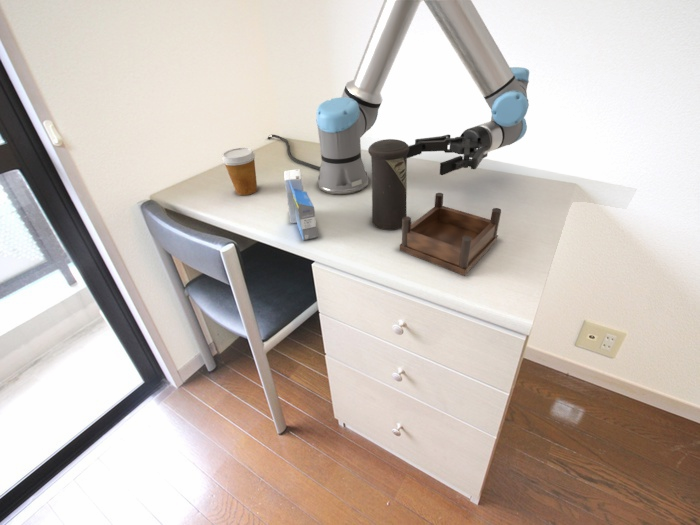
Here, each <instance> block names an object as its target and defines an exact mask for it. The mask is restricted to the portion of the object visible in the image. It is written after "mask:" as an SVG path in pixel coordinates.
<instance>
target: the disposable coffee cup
mask: <svg viewBox="0 0 700 525" xmlns="http://www.w3.org/2000/svg"><path fill="white" fill-rule="evenodd" d="M221 156H222V158H221V162H222V163H223V164H224V166H225V168H226V170H227V173H228V176H229V177H230V180H231V183H232V186H233V187H234V190H235V192H236V194H237V195H239V196H249V195H252V194H254V193H256V192H257V191H258V183H257V172H256V160H255V158H256V153H255V152H254V150H253V149H252V148H250V147H235V148H232V149H228V150H226V151H224V152H223V153H222V155H221Z"/></svg>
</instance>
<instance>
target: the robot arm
mask: <svg viewBox="0 0 700 525" xmlns="http://www.w3.org/2000/svg"><path fill="white" fill-rule="evenodd" d="M423 1H424V3H425V5H426V7H427V8H428V10H429V11H430V14H431V15H432V17H433V18H434V19H435V21H436V23H437V24H438V26H439V27H440V29H441V31H442V32H443V34H444V35H445V37H446V39H447V40H448V42H449V43H450V45H451V47H452V49H453V50H454V52H455V53H456V55H457V56H458V58H459V60H460V62H461V63H462V64H463V66H464V68H465V70H466V71H467V72H468V74H469V76H470V77H471V79H472V81H473V82H474V84H475V86H476V87H477V89H478V91H479V92H480V93H481V95H482V97H483V99H484V100H485V102H486V103H487V105H488V108H489V109H490V110H491V111H490V112H491V116H490V117H491V118H490V121H487V122H484V123H481V124H478V125H475V126H472V127H469V128H466V129H464V130H463V132H462V133H461V134H460V135H459V136H455V137H451V134H445V135H441V136H440V135H439V136H432V137H430V136H429V137H423V138H416V139H414V143H413V144H411V145H408V146H409V152H408V154H407V159H410V158H412V157H415V156H418V155H419V156H420V155H422V152H426V153H427V152H444V153H445V154H449V153H451V154H452V153H454V154H457V155H459V156H456V157H453V158H450V159H448V160H444V161H442V162H440V164H439V175H440V176H443V175H447V174H450V173H451V172H454V171H458V170H461V169H468V168H470V170H476V169H477V168H478V167H479V165H480V164H481V162H482V161H483V160H484V159H486V158H487V157H488V153H489V152H490V153H491V152H492V151H495V150H499V149H501V148H503V147H506V146H510V145H512V144H515V143H516V142H518V141H520V140H521V139H522V138H523V137H524V136H525V134H526V132H527V129H528V125H527V120H526V118H525V117H526V115H527V113H528V109H529V106H530V104H529V98H528V94H527V93H528V92H527V90H528V85H529V83H530V82H529V78H530V70H529V68H528V69H527V68H526V67H519V66H518V67H517V66H513V67H512V66H510V65H509V63H508V62H507V60H506V59H505V57H504V54H503V53H502V51H501V50H500V48H499V46H498V44H497V43H496V41H495V39H494V37H493V36H492V34H491V32H490V31H489V29H488V28H487V27H488V26H487V25H486V23H485V22H484V20H483V18H482V17H481V15H480V13H479V11H478V9H477V8H476V5H475V4H474V2H473V1H472V0H383V2H382V5H381V7H380V10H379V12H378V15H377V18H376V20H375V23H374V26H373V28H372V30H371V33H370V36H369V39H368V40H367V44H366V46H365V49H364V51H363V54H362V57H361V59H360V62H359V64H358V67H357V70H356V72H355V75H354V77H353V79H352V80H349V81H347V82H346V84H345V87H344V89H343V92H342V94H341V97H340V96H339V97H334V98H331V99H328V100H327V99H326V100H325V101H323V102H321V103H320V104H319V105H318V106H317V109H316V126H317V132H318V141H319V148H320V155H321V156H320V157H321V158H320V159H321V163H320V166H318V165H316V164H312V163H309V162H306V161H303V160H300V159H297V158H296V157H294V156H293V154H292V152H291V147H290V146H291V145H290V142H289V141H288V139H286V138H285V137H282V136H280V135H277V134H271V135H272V137H269V136H267V140H270V139H271V138H276V139H279V140H281V141H283V142H285V145H286V151H287V152H286V153H287V155H288V157H289V158H290V159H291V160H292V161H294V162H296V163H297V164H301V165H304V166H306V167H309V168H311V169H314V170H319V175H318V177H317V184H318V188H319V190H321V191H322V192H324V193H327V194H331V195H349V194H354V193H357V192H360V191H362V190H364V189H365V188H366V187H368V185H369V174H368V172H367V171H366V169H365V165H364V162H363V159H362V147H361V146H362V145H361V138H362V137H363V136H364V135H365V134H366V133H367V132H368V131H369V130H370V129H372V127H373V126H374V125H375V123H376V121H377V118H378V115H379V109H380V107H381V104H382V102H383V97H382V94H381V92H382V90H383V88H384V85H385V84H386V81H387V79H388V77H389V75H390V72H391V70H392V67H393V65H394V63H395V61H396V58H397V57H398V54H399V52H400V49H401V48H402V45H403V43H404V40H405V38H406V36H407V34H408V32H409V29H410V27H411V25H412V22H413V20H414V18H415V15H416V14H417V11H418V9H419V6H420V4H421V2H423ZM448 147H449V148H448ZM462 155H463V156H462Z"/></svg>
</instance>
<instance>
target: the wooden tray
mask: <svg viewBox="0 0 700 525" xmlns="http://www.w3.org/2000/svg"><path fill="white" fill-rule="evenodd" d="M443 204H444V193H442V192H436V193H435V195H434V206H433V207H431V209H429V210H428V211H427V212H425V213H424V214H423V215H421V216H420V217H419V218H417V219H416V220H415V221H413V222H412V217H410V216H407V215H406V217H403V218H402V227H401V243H400V244H399V252H400V251H401V252H402V253H405V254H408V255H410V256H413V257H415V258H418V259H421V260H423V261H426V262H428V263H430V264H432V265H435V266H438V267H441V268H443V269H446V270H448V271H451V272H454V273H456V274H459V275H461V276H463V277H465V276H466V275H467V274H468V273H469V271H471V269H473V267H474V266H475V265H476V264H477V263H478V262H479V261H480V260H481V259H482V258H483V257H484V255H485V254H486V253H487V252H488V251H490V249H491V248H492V247H493V246H494V245H495V244H496V243H497V242H498V237H499V235H497V234H498V229H499V224H500V221H501V220H500V219H501V214H502V209H501V208H499V207H493V208H492V210H491V214H490V215H491V216H490V218H486V217H483V216H479V215H476V214H472V213H468V212H466V211H462V210H458V209H455V208H452V207H448V206H445V205H443Z"/></svg>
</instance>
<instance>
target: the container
mask: <svg viewBox="0 0 700 525" xmlns="http://www.w3.org/2000/svg"><path fill="white" fill-rule="evenodd" d="M409 146H410V145H409V144H408V143H407V142H406V141H404V140H401V139H393V138H387V139H381V140H377V141H375V142H373V143H371V145H369V147H368V150H367V151H368V154H369V156H370V159H371V160H370V162H371V163H370V164H371V204H372V205H371V220H372V221H371V222H372V225H373V226H374V227H375V228H377V229H380V230H388V231H391V230H392V231H394V230H398V229H402V218H403V217H406V216H407V211H408V210H407V194H408V193H407V184H408V183H407V181H408V178H407V176H408V174H407V172H408V171H407V166H408V158H407V154H408V152H409Z"/></svg>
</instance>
